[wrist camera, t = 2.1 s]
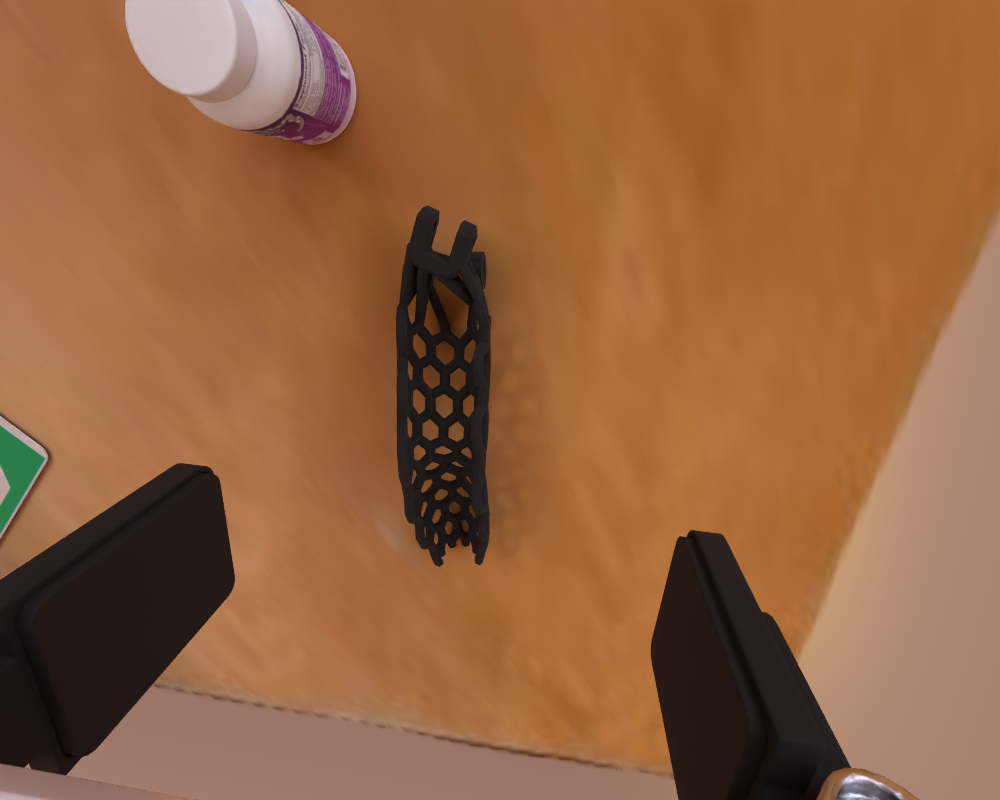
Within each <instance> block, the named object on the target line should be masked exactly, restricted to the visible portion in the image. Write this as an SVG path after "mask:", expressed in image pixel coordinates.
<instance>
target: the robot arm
mask: <svg viewBox="0 0 1000 800" xmlns="http://www.w3.org/2000/svg"><path fill="white" fill-rule="evenodd" d="M234 582H235V574H234V568H233V562H232V555H231V549H230V542H229V536H228V529H227V523H226V516H225V510H224V503H223V497H222V491H221V484H220V480H219V478H218V476H216V475H214V473H213V471H212V470H211V468H209V467H207V466H200V465H192V464H184V463H178V464H176V465H174V466H172V467H171V468H169V469H168V470H166V471H165V472H163V473H162V474H160V475H159V476H157V477H156V478H154V479H153V480H151V481H150V482H148V483H147V484H145V485H143V486H142V487H140V488H139V489H137V490H136V491H134V492H133V493H131V494H130V495H128V496H127V497H125V498H124V499H122V500H121V501H119V502H118V503H116V504H115V505H113V506H112V507H110V508H109V509H107V510H106V511H104V512H103V513H101V514H99V515H98V516H96V517H95V518H93V519H92V520H90V521H89V522H87V523H86V524H84V525H83V526H81V527H80V528H78V529H77V530H75V531H74V532H72V533H71V534H69V535H68V536H66V537H65V538H63V539H62V540H60V541H59V542H57V543H55V544H54V545H52V546H51V547H49V548H48V549H46V550H45V551H43V552H42V553H40V554H39V555H37V556H36V557H34V558H33V559H31V560H30V561H28V562H27V563H25V564H24V565H22V566H21V567H19V568H18V569H16V570H15V571H13V572H11V573H10V574H8V575H7V576H5V577H4V578H2V579H1V580H0V800H194V799H189V798H184V797H179V796H173V795H168V794H163V793H158V792H152V791H147V790H141V789H136V788H131V787H125V786H120V785H114V784H109V783H103V782H97V781H92V780H87V779H81V778H77V777H71V776H66V775H67V774H68V772H69V771H70V770H71V769H72V768H73V767H74V766H75V764H76V763H77V762H78V761H79V760H80V759H81V758H82V757H84V756H87V755H89V754H90V753H92V752H93V751H95V750H96V749H97V748H98V747H99V745H100V744H101V743H102V742H103V741H104V740H105V739H106V737H107V736H108V735H109V734H110V733H111V731H112V730H113V729H114V728H115V727H116V726H117V725H118V724H119V722H120V721H121V720H122V719H123V718H124V717H125V715H126V714H127V713H128V712H129V710H131V708H132V707H133V706H134V705H135V704H136V703H137V702H138V700H139V699H140V698H141V697H142V696H143V695H144V693H145V692H146V691H147V690H148V689H149V688H150V686H151V685H152V684H153V683H154V682H155V681H156V680H157V678H158V677H159V676H160V675H161V674H162V673H163V671H164V670H165V669H166V668H167V667H168V666H169V665H170V663H171V662H172V661H173V660H174V659H175V658H176V656H177V655H178V654H179V653H180V652H181V651H182V649H183V648H184V647H185V646H186V645H187V644H188V643H189V641H190V640H191V639H192V638H193V637H194V636H195V634H196V633H197V632H198V631H199V630H200V629H201V627H202V626H203V625H204V624H205V623H206V622H207V621H208V619H209V618H210V617H211V616H212V615H213V614H214V612H215V611H216V610H217V609H218V608H219V607H220V605H221V604H222V603H223V602H224V601H225V600H226V599H227V597H228V596H229V595H230V593H231V591H232V589H233V586H234ZM651 660H652V666H653V671H654V676H655V681H656V686H657V692H658V697H659V702H660V707H661V712H662V717H663V722H664V727H665V733H666V738H667V743H668V748H669V753H670V758H671V763H672V768H673V773H674V779H675V784H676V789H677V794H678V799H679V800H919V799H917V798H916V797H915V796H913V795H912V794H911V793H910V792H908V791H907V790H906V789H905V788H903V787H901V786H900V785H898V784H896V783H894V782H893V781H891V780H889V779H887V778H886V777H884V776H881V775H879V774H876V773H873V772H870V771H867V770H864V769H857V768H851V767H850V765H849V763H848V761H847V759H846V757H845V755H844V753H843V751H842V749H841V747H840V745H839V743H838V741H837V739H836V737H835V736H834V734H833V732H832V730H831V728H830V726H829V724H828V722H827V720H826V718H825V716H824V714H823V713H822V710H821V709H820V706H819V705H818V703H817V701H816V699H815V697H814V695H813V693H812V691H811V689H810V687H809V685H808V683H807V681H806V679H805V677H804V675H803V673H802V671H801V670H800V668H799V666H798V664H797V662H796V660H795V658H794V656H793V654H792V652H791V650H790V648H789V646H788V644H787V642H786V640H785V638H784V637H783V635H782V633H781V631H780V629H779V627H778V625H777V623H776V622H775V620H774V619H773V617H772V616H771V615H769V614H768V613H765V612H761V610H760V608H759V606H758V604H757V602H756V600H755V598H754V596H753V594H752V592H751V590H750V588H749V586H748V584H747V582H746V579H745V577H744V575H743V573H742V571H741V569H740V567H739V565H738V563H737V561H736V559H735V557H734V555H733V553H732V551H731V549H730V547H729V545H728V543H727V541H726V539H725V537H724V536H723V535H722V534H717V533H710V532H702V531H694V530H691V531H689V533H688V535H687V537H681V536H680V537H679V538H678V539H677V542H676V545H675V549H674V553H673V557H672V561H671V565H670V569H669V573H668V577H667V581H666V585H665V589H664V593H663V597H662V601H661V605H660V609H659V613H658V617H657V621H656V625H655V629H654V633H653V637H652V642H651ZM28 763H29V765H30V767H31V769H28V768H24V767H25V766H26V765H27V764H28Z"/></svg>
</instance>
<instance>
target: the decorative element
mask: <svg viewBox="0 0 1000 800" xmlns="http://www.w3.org/2000/svg"><path fill="white" fill-rule="evenodd" d="M438 222H439V211H438V210H436V209H434V208H432V207H430V206H425V207H423V208H422V209H421V210H420V212H419V213H418V214H417V217H416V221H415V225H414V228H413V232H412V236H411V239H410V243H409V244H408V245H407V250H406V255H405V261H404V266H403V272H402V282H401V293H400V303H399V305H398V307H397V315H396V341H397V458H398V472H399V479H400V482H401V485H402V490H403V495H404V505H405V516H406V518H407V520H408V522H409V523H412V524H414V525H415V533H416V540H417V541H418V543H419V545H420V547H421V548H422V549H427V548H428V549H429V552H430V555H431V557H432V560H433V562H434V564H435V565H437V566H439V567H440V566H441V565H442V564H443V560H442V559H441V557H443V556H444V555H445V554H446V553H445V544H446V543H447V544H448V546H449V547H450V548H454V547H455V546H456V541H457V539H458V538H460V540H461V541H462V545H463V546H465V547H466V546H469V543H470V542H471V544H472V551H473V553H474V554H476V556H475V564H478V565H481V564H482V563H483V559H484V556H485V552H486V549H487V546H488V541H489V515H490V513H489V506H488V493H487V482H486V474H485V464H486V450H487V440H488V423H489V411H488V401H489V389H490V368H491V347H490V327H491V316H489V313H488V309H487V304H486V300H485V296H484V293H483V290H482V289H484V288H485V284H486V257H485V254H484V252H472V250H473V247H474V244H475V241H476V239H477V226H476V225H474V224H472V223H470V222H467V221H463V222H462V223H461V225H460V227H459V230H458V232H457V235H456V238H455V241H454V244H453V248H452V251H451V254H450V256H447V255H444V254H441V253H438V252H435V251H433V250H432V248H431V247H432V243H433V240H434V236H435V233H436V229H437V226H438ZM459 274H460V275H461V277H462V279H463V280H464V281H463V280H462V279H461V278H460V277H459V276H458V275H459ZM435 276H438V280H439V281H441V282H442V283H443V284H444V285H445V286H446V287H448V288H449V289H450V290H451V291H452V292H453V293H454V294H456V295H457V296H458V297H459V298H460V299H461V300H463V301H464V302H465V303H466V304H467V305H468V306H469V312H468V320H467V331H466V332H465V333H464V334H463V335H462V336H461V337H460V338H457V337H456V336H455V335H454V334H452V333H451V331H450V324H449V322H448V319H447V317H446V314H445V312H444V310H443V307H442V305H441V302H440V300H439V298H438V295H437V293H436V291H435V288H434V286H433V281H434V277H435ZM416 293H417V296H416V311H415V321H414V322H413V324H411V322H410V319H409V315H408V308H407V307H408V305H409V304H410V302H411V301H412V299H413V298H414V296H415V294H416ZM428 298H429V300H430V302H431V305H432V307H433V310H434V312H435V315H436V317H437V319H438V322H439V324H440V327H441V332H439V333H437V334H435V335H433V336H432V335H431V334H430V332H429V331H428V330H427V329H426V327H425V326H424V321H425V316H426V310H427V304H428ZM477 321H478V324H479V328H478V330H477ZM416 333H417V334H418V335H419V336H420V338H421V339H422V340H423V341H424V342H425V344H426V356H424V357H422V358H421V359H419V357H418V356H417V354H416V352H415V351H414V348H413V335H415V334H416ZM472 339H473V340H474V341H475V342H476V349H475V351H474V356H473V359H472V361H471V362H470V363H469V362H467V361H466V360H464V349H465V347H466V346H467V344H468V343H469V342H470V341H471V340H472ZM443 341H446V342H447V343H449V344H450V345H451V346H452V347H454V359H453V360H452V361H451V362H450V363H448V364H447V365H446V366H445V365H444V364H443V363H442V362H441V361H440V360H439V359H438V358H437V357H436V345H438V344H440V343H442V342H443ZM408 360H409V362H410V363H411V365H412V367H413V379H412V380H411V381H410V378H409V375H408ZM429 365H431V366H432V367H433V368H434V369H435V370H436V371H437V372H439V373H440V385H439V386H437V387H435V388H433V389H431V388H430V387H429V386H428V385H427V384H426V383H425V382H424V380H423V368H425V367H427V366H429ZM458 368H460V369H461V370H463V371H464V372H465V373H466V385H464V386H463V387H462V388H461V389H460V390H459V391H456V390H455V389H454V388H453V387H452V386H450V374H451V373H453V372H454V371H455V370H457V369H458ZM476 384H477V385H476ZM416 389H418V390H419V391H420V392H421V393H422V394H423V396H424V397H425V410H424V411H423V412H422V413H420V414H418V413H417V411H416V409H415V408H414V406H413V391H414V390H416ZM442 394H446V395H447V396H448V397H449V398H451V399H452V400H453V412H452V413H451V414H450V415H448V416H447V417H446V418H443V417H442V416H441V415H440V414H439V413H438V412H437V411H436V398H437V397H439V396H441V395H442ZM470 394H472V395H473V396H474V411H473V412H472V414H471V415H470V416H469V418H468V417H467V416H466V415H465V414H464V413H463V400H464V399H465V398H467V397H468V396H469V395H470ZM407 417H409V419H410V420H411V422H412V437H411V438H409V436H408V433H407ZM429 419H431V420H432V421H433V422H434V423H435V424H436V425H437V426H438V438H436V439H433V440H431V441H430V440H429V439H427V438H426V437H424V436H423V423H424V422H426V421H427V420H429ZM457 421H458V422H459V423H460V424H461V425H462V426H463V427H464V438H463V439H461V440H459V441H457V442H456V441H454V440H452V439H450V438H448V432H449V427H450V426H452V425H453V424H454V423H455V422H457ZM417 445H420V446H421V447H422V448H424V449H425V452H426V455H425V456H423V457H422V458H421V459H420V460H419V461H417V460H414V448H415V447H416V446H417ZM441 446H444V447H446V448H448V449H450V450H451V451H452V453H448V454H445V455H443V454H439V453H435V449H437V448H439V447H441ZM466 447H468V448H469V449H470V450H471V453H472V458H468V457H466V456H465V455H463V454H462V453H461V450H462V449H464V448H466ZM455 461H456V462H457V463H459V464H460V465H462V466H463V467H459V466H456V465H454V464H451V463H452V462H455ZM431 462H435V463H438V464H440V465H439V466H438V467H437V468H434V469H432V470H426V469H425V468H426V467H427V466H428V465H429V464H430V463H431ZM413 470H416V474H417V475H416V478H415V480H414V483H413V485H412V476H413ZM446 472H448V473H450V474H453V475H455V476H456V479H455V480H453V481H446V480H443V479H441V476H442V475H443V474H444V473H446ZM466 476H468V477H469V479H470V480H471V482H472V484H471V483H470V482H469V481H468V480H467V479H466ZM429 479H432V482H433V483H432V484H431V486H430V488H429V489H428V490H427V491H426V492H423V493H422V492H421V489H422V486H423V484H424V481H425V480H429ZM459 487H462V488H463V489H464V490H465V491H466V492H467V493H468V494H469V497H468V498H466V497H463V496H461V495H460V494H459V493H458V492H457V488H459ZM439 489H444V490H447V491H448V495H447V496H446V497H445V498H444V499H442V500H436V499H435V495H436V493H437V492H438V491H439ZM423 502H427V507H426V510H425V513H424V516H423V517H422V516H421V511H422V506H423ZM452 502H456V503H458V504H459V505H460V509H461V511H460V512H459V513H458V514H453V513H452V512H450V511H449V505H450V504H451V503H452ZM469 506H472V508H473V511H474V512H475V514H476V518H474V517H473V515H472V514H471V513H470V510H469ZM437 509H440V510H441V516H440V519H439V521H438V522H437V523H435V524H434V523H433V521H432V518H433V515H434V513H435V510H437ZM463 520H466V521H467V523H468V524H469V532H465V531H464V530H463V529H462V523H461V521H463ZM447 521H450V522H452V523H453V527H454V529H453V531H452V533H451V534H450V535H448V534H446V531H445V526H446V523H447ZM424 526H425V528H426V538H425V533H424ZM436 532H437V535H438V543H437V545H436V544H435V542H434V535H435V533H436ZM477 532H478V536H477Z"/></svg>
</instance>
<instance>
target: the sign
mask: <svg viewBox="0 0 1000 800" xmlns="http://www.w3.org/2000/svg"><path fill="white" fill-rule="evenodd" d="M47 461H48V454H47V452H46V450H45V449H44V448H43V447H42V446H41V445H39V444H38V443H37V442H35V441H34V440H32V439H31V438H30V437H28V436H27V435H26V434H24V433H23V432H21V431H20V430H19V429H17V428H16V427H15V426H13V425H12V424H11V423H9V422H8V421H6V420H5V419H4V418H2V417H1V416H0V539H1V537H2V536H3V534H4V532H5V531H6V529H7V527H8V526H9V524H10V523H11V521H12V519H13V518H14V516H15V514H16V513H17V511H18V509H19V508H20V506H21V504H22V503H23V501H24V499H25V498H26V496H27V494H28V493H29V491H30V489H31V488H32V486H33V484H34V483H35V481H36V479H37V478H38V476H39V474H40V473H41V471H42V469H43V468H44V466H45V464H46V463H47Z"/></svg>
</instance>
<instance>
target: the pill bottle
mask: <svg viewBox="0 0 1000 800" xmlns="http://www.w3.org/2000/svg"><path fill="white" fill-rule="evenodd" d="M125 18H126V26H127V30H128V34H129V38H130V41H131V43H132V46H133V48H134V50H135V52H136V54H137V56H138V58H139V59H140V61H141V63H142V64H143V66H144V67H145V68H146V69H147V71H148V72H149V73H150V74H151V75H152V76H153V77H154V78H155V79H156V80H157V81H158V82H160V83H161V84H162V85H164V86H165V87H167V88H168V89H170V90H172V91H174V92H177V93H179V94H182V95H185V96H186V97H187V98H188V100H189V101H190V102H191V103H192V104H193V105H194V106H195V107H196V108H197V109H198V110H200V111H201V112H202V113H203V114H205V115H206V116H208V117H209V118H211V119H213V120H214V121H216V122H218V123H221V124H223V125H226V126H228V127H231V128H234V129H239V130H244V131H249V132H253V133H258V134H262V135H266V136H270V137H274V138H278V139H284V140H288V141H292V142H297V143H302V144H308V145H315V144H322V143H326V142H328V141H330V140H332V139H333V138H335V137H337V136H338V135H339V134H340V133H341V132H342V131H343V130H344V129H345V128H346V126H347V125H348V123H349V121H350V119H351V117H352V115H353V112H354V108H355V104H356V83H355V78H354V72H353V69H352V66H351V64H350V62H349V60H348V58H347V56H346V54H345V53H344V51H343V50H342V48H341V47H340V46H339V45H338V44H337V42H336V41H335V40H334V39H333V38H331V37H330V36H329V35H328V34H327V33H325V32H324V31H323V30H322V29H321V28H319V27H318V26H317V25H315V24H314V23H313V22H311V21H310V20H309V19H307V18H306V17H305V16H303V15H302V14H301V13H299V12H298V11H297V10H295V9H294V8H293V7H291V6H290V5H289V4H287V3H286V2H285V1H283V0H126V3H125Z"/></svg>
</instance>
